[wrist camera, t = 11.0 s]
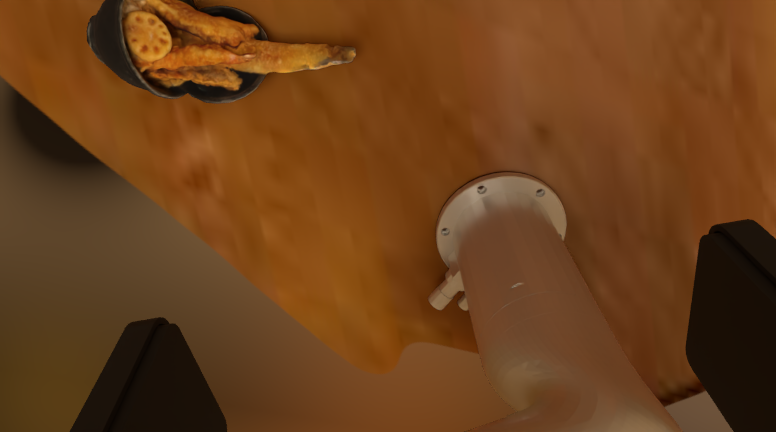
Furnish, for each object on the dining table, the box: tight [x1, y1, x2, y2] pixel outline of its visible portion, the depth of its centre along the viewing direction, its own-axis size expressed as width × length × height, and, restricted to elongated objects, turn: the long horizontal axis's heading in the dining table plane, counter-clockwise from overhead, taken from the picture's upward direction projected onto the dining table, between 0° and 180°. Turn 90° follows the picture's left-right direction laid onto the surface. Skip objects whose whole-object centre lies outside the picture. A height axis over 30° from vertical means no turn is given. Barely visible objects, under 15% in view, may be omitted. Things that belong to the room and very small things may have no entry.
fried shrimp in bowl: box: [87, 0, 356, 103], centre depth 40 cm, size 9×11×18 cm
